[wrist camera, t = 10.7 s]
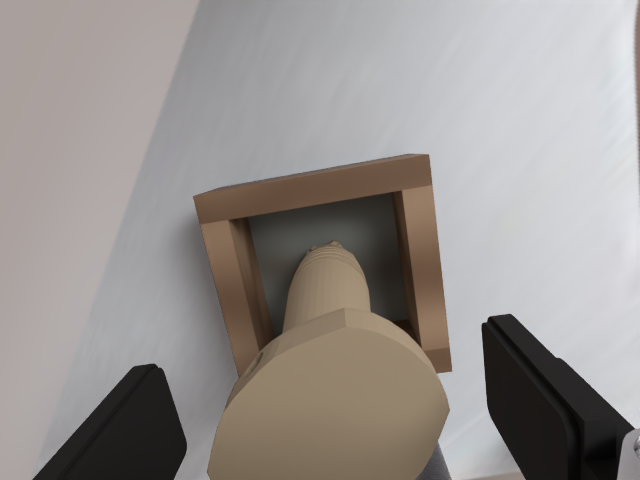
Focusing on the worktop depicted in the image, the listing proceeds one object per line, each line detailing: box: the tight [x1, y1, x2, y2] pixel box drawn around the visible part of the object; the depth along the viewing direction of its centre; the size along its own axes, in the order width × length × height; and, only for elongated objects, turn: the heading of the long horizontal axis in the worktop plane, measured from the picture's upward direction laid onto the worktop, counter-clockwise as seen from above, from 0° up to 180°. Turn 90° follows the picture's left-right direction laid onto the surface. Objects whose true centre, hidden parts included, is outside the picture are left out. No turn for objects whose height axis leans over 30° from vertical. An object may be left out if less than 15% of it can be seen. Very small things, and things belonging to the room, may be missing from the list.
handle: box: [207, 240, 450, 480], centre depth 16 cm, size 5×6×15 cm
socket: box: [193, 154, 452, 378], centre depth 22 cm, size 12×12×5 cm
